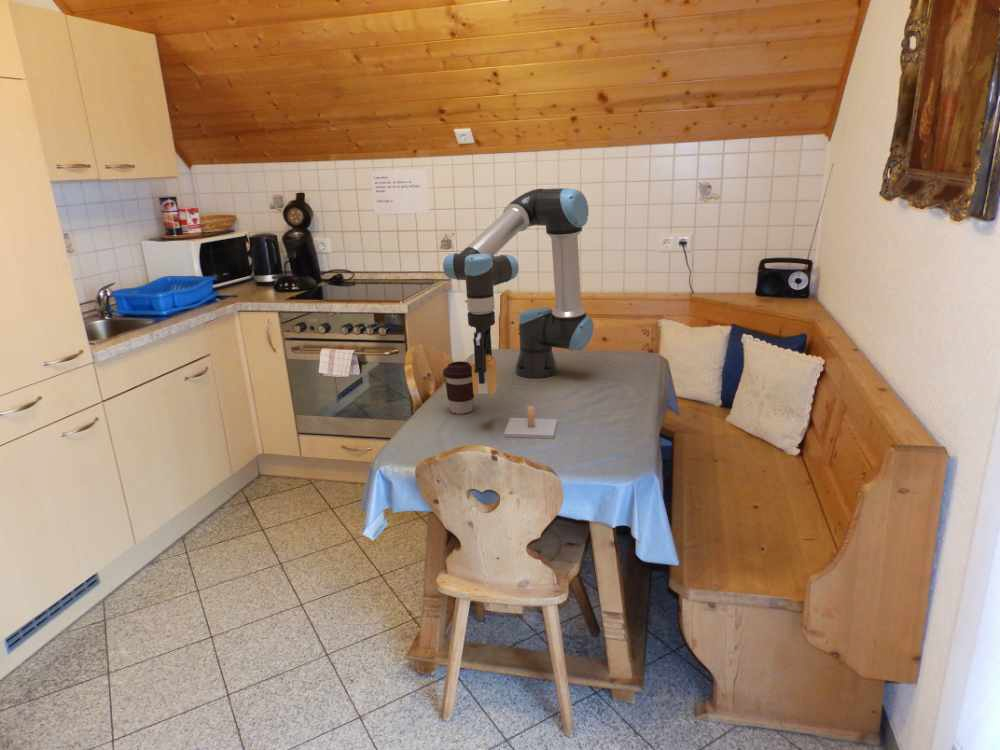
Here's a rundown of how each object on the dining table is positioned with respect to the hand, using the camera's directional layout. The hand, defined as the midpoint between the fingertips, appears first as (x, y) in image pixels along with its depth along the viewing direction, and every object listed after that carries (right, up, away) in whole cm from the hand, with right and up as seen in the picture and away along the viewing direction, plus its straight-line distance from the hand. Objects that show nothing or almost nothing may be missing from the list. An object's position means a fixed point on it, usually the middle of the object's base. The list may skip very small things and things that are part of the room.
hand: (485, 389), depth 194 cm
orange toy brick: (0, 0, 0) cm, 0 cm away
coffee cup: (-8, -7, +16) cm, 19 cm away
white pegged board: (+13, -12, 0) cm, 18 cm away
